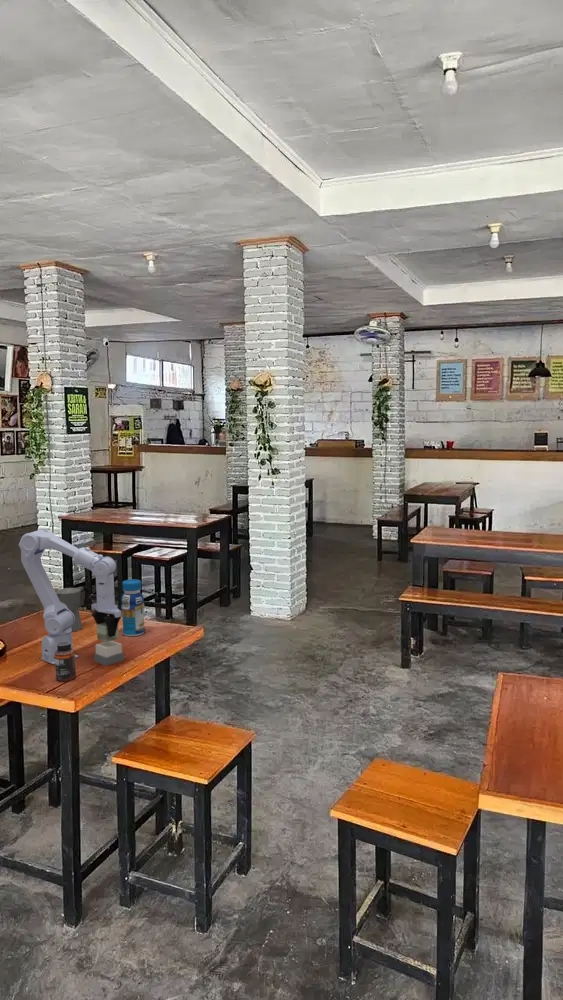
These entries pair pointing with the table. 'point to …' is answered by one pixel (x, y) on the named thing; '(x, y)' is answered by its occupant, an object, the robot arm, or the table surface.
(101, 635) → the sage block
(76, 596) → the coffeepot
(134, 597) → the beverage bottle
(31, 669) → the table surface
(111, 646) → the tower top
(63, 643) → the supplement bottle
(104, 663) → the tower base
